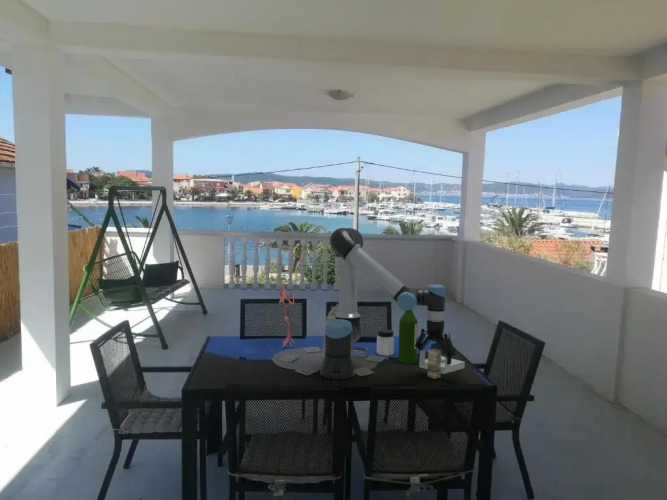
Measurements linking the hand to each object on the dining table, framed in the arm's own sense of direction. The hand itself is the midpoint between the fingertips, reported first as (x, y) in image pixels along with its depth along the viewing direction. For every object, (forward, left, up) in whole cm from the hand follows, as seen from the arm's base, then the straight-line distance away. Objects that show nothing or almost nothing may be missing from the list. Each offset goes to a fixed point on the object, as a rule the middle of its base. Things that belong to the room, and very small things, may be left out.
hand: (434, 368), depth 214 cm
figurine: (-22, +87, -4) cm, 90 cm away
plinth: (+15, +7, -4) cm, 17 cm away
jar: (+12, +41, -4) cm, 43 cm away
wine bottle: (+10, +24, -4) cm, 26 cm away
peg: (0, 0, -4) cm, 4 cm away
